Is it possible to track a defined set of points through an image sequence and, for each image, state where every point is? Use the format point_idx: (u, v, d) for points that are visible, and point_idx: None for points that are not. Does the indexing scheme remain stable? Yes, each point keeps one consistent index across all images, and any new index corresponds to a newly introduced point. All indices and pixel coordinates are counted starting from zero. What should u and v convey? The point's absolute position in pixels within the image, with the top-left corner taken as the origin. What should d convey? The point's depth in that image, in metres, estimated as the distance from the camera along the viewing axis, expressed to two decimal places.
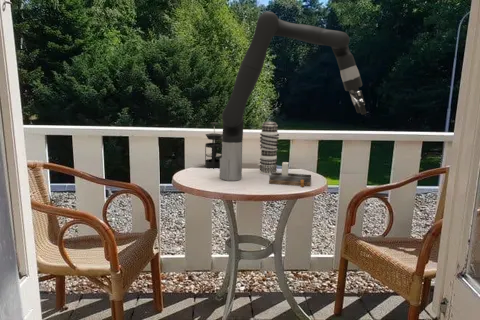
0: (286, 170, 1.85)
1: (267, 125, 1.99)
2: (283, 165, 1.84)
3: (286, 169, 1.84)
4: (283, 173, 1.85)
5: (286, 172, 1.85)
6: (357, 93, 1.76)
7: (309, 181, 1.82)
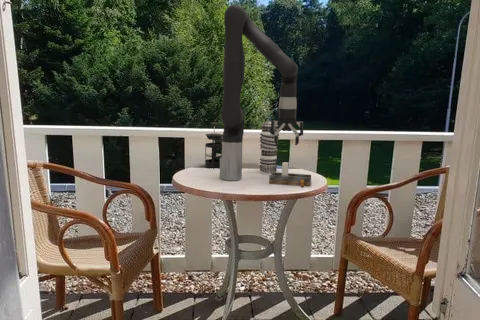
0: (286, 170, 1.85)
1: (267, 125, 1.99)
2: (283, 165, 1.84)
3: (286, 169, 1.84)
4: (283, 173, 1.85)
5: (286, 172, 1.85)
6: None
7: (309, 181, 1.82)
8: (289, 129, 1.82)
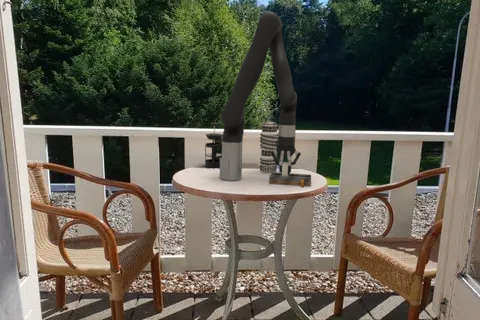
0: (286, 170, 1.85)
1: (267, 125, 1.99)
2: (283, 165, 1.84)
3: (286, 169, 1.84)
4: (283, 173, 1.85)
5: (286, 172, 1.85)
6: None
7: (309, 181, 1.82)
8: (285, 155, 1.84)
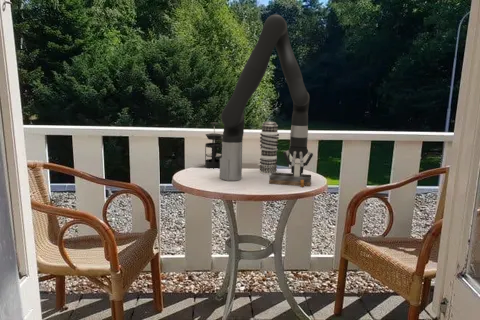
0: (298, 171, 1.84)
1: (267, 125, 1.99)
2: (295, 166, 1.83)
3: (298, 170, 1.84)
4: (295, 174, 1.84)
5: (298, 173, 1.84)
6: None
7: (309, 181, 1.82)
8: (298, 156, 1.83)
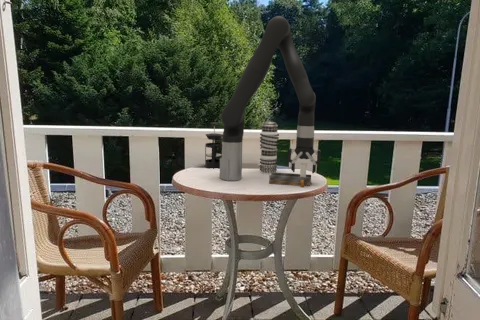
0: (304, 171, 1.83)
1: (267, 125, 1.99)
2: (301, 166, 1.83)
3: (304, 170, 1.83)
4: (301, 174, 1.84)
5: (304, 173, 1.83)
6: (289, 149, 1.85)
7: (309, 181, 1.82)
8: (306, 157, 1.83)
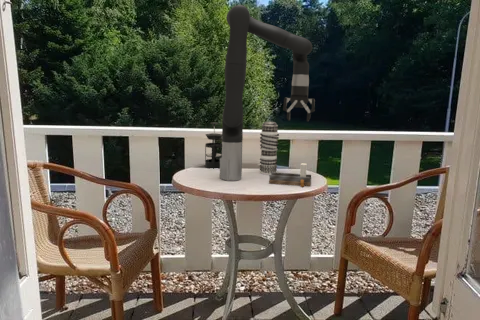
0: (304, 171, 1.83)
1: (267, 125, 1.99)
2: (301, 166, 1.83)
3: (304, 170, 1.83)
4: (301, 174, 1.84)
5: (304, 173, 1.83)
6: None
7: (309, 181, 1.82)
8: (301, 106, 1.90)
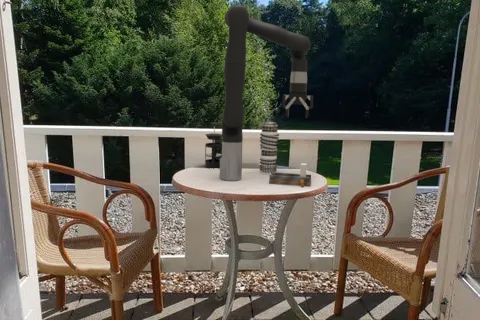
0: (304, 171, 1.83)
1: (267, 125, 1.99)
2: (301, 166, 1.83)
3: (304, 170, 1.83)
4: (301, 174, 1.84)
5: (304, 173, 1.83)
6: None
7: (309, 181, 1.82)
8: (300, 102, 1.92)
